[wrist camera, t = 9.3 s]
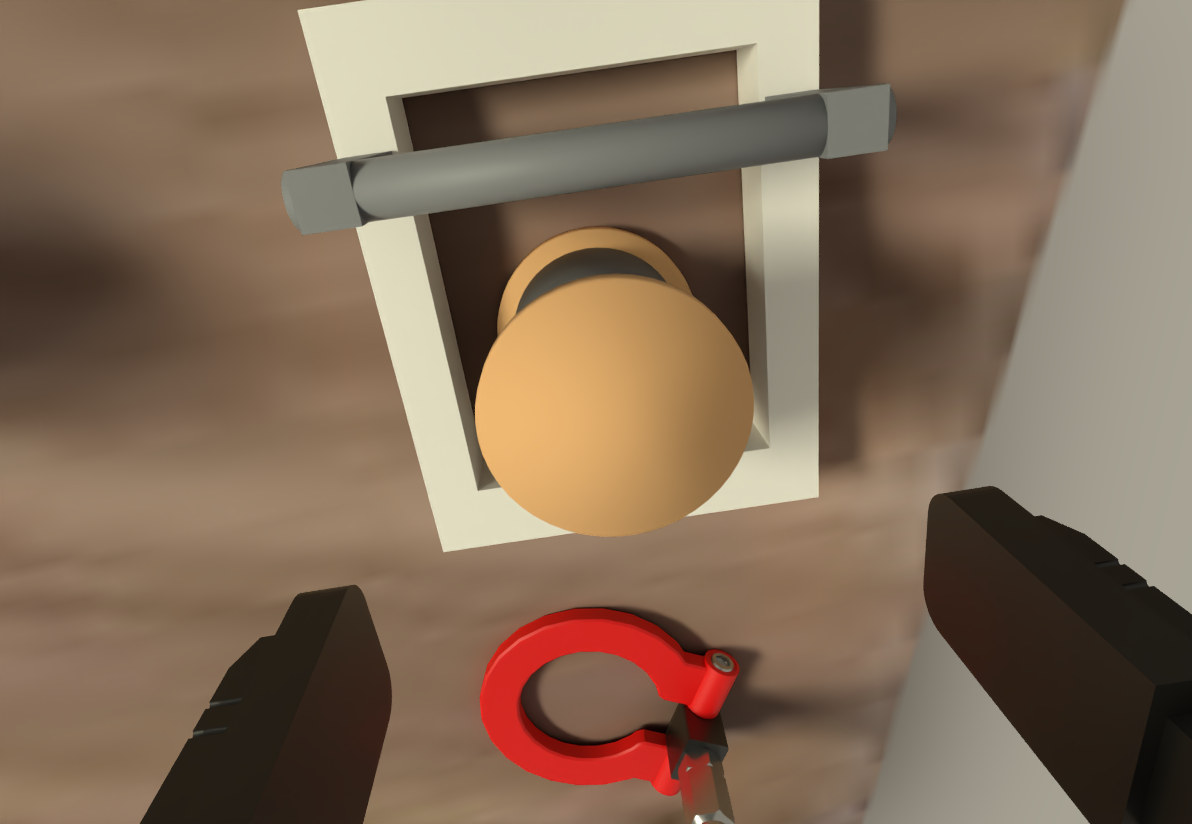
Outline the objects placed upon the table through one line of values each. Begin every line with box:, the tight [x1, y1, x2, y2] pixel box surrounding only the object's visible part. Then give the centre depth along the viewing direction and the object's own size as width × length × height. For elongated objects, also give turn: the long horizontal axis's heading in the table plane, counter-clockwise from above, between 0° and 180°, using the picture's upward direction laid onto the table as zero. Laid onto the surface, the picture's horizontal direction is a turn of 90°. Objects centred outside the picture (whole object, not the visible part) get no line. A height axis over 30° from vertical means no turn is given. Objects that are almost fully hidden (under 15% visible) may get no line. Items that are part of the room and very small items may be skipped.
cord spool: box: [475, 226, 754, 537], centre depth 18 cm, size 6×6×7 cm
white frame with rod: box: [281, 0, 897, 552], centre depth 18 cm, size 15×12×6 cm
